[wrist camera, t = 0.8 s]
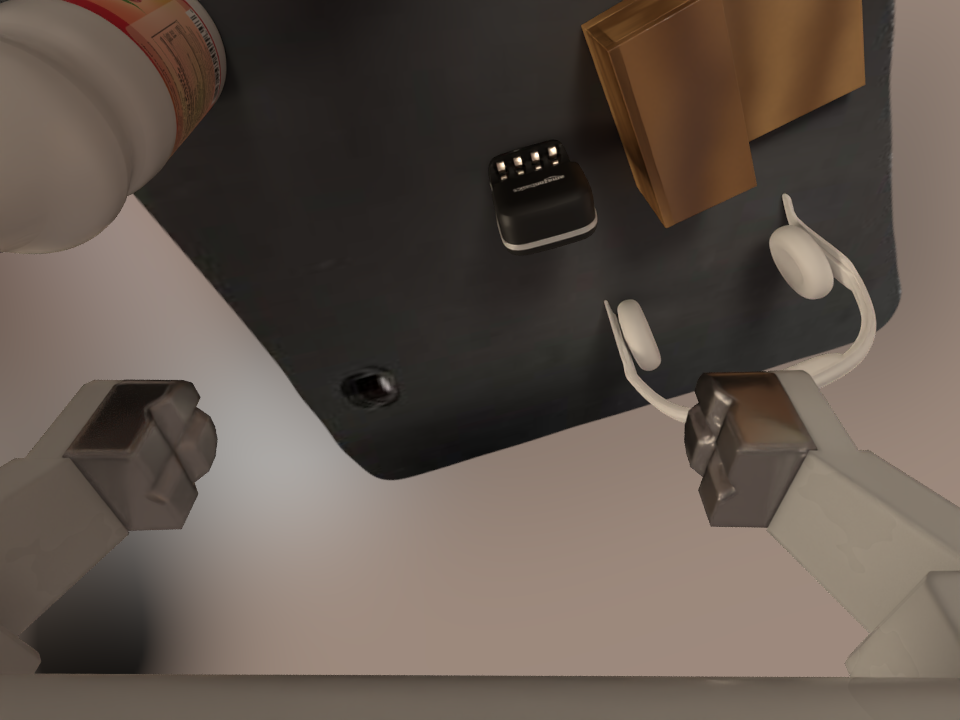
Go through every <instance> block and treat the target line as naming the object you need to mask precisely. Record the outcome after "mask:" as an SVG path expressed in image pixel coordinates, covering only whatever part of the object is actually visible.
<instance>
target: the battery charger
mask: <svg viewBox="0 0 960 720" xmlns="http://www.w3.org/2000/svg"><path fill="white" fill-rule="evenodd" d="M489 178H490V186H491V189H492V198H493V204H494V208H495V213H496V219H497V224H498V228H499V232H500V235H501V238H502V242H503V243H504V245H505V247H506V248H507V250H508V251H509V252H510V253H512V254H514V255H518V256H522V255H529V254H534V253H538V252H541V251H545V250H549V249H553V248H557V247H560V246H564V245H567V244H570V243H574V242H577V241H580V240H583V239H586V238H587V237H589V236H591V235H592V234H593V233H594V232H595V229H596V226H597V213H596V209H595V207H594V201H593V194H592V190H591V187H590V185H589V182H588V180H587V178H586V176H585V174H584V172H583V171H582V169H581V167H580V166H579V164H578V163H576V162H572V161H571V162H570V160H569V157H568V155H567V153H566V150H565V148H564V146H563V145H562V144H561V143H560V142H559V141H557V140H549V141H544V142H541V143H537V144H534V145H531V146H527V147H524V148H520V149H517V150H514V151H510V152H507V153H504V154H501V155H498V156H496V157H494V158H493V159H492V160H491V162H490V164H489Z"/></svg>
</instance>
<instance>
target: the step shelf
mask: <svg viewBox="0 0 960 720" xmlns="http://www.w3.org/2000/svg"><path fill="white" fill-rule="evenodd" d="M581 27H582V30H583V33H584V35H585V38H586V41H587V44H588V47H589V50H590V53H591V56H592V58H593V61H594V64H595V67H596V70H597V73H598V76H599V79H600V81H601V84H602V87H603V90H604V93H605V96H606V99H607V102H608V104H609V107H610V110H611V113H612V116H613V119H614V122H615V125H616V127H617V130H618V133H619V136H620V139H621V142H622V145H623V147H624V150H625V153H626V156H627V159H628V162H629V165H630V168H631V170H632V173H633V176H634V179H635V182H636V185H637V187H638V189H639V190H640V192H641V193H642V194H643V196H644V197H645V199H646V200H647V202H648V203H649V205H650V206H651V208H652V209H653V210H654V212H655V213H656V215H657V216H658V218H659V219H660V221H661V222H662V224H663V225H664V226H665V228H668V227H670V226H673V225H675V224H677V223H679V222H681V221H683V220H685V219H687V218H689V217H691V216H694V215H696V214H698V213H700V212H702V211H704V210H706V209H708V208H711V207H713V206H715V205H717V204H719V203H721V202H723V201H725V200H728V199H730V198H732V197H734V196H736V195H738V194H740V193H742V192H744V191H747V190H749V189H751V188H753V187H755V186H757V183H756V178H755V173H754V167H753V162H752V157H751V152H750V146H749V142H750V141H752V140H754V139H756V138H758V137H760V136H762V135H764V134H766V133H768V132H770V131H772V130H774V129H776V128H778V127H780V126H782V125H784V124H786V123H788V122H790V121H792V120H794V119H796V118H798V117H800V116H802V115H804V114H806V113H808V112H810V111H813V110H815V109H817V108H819V107H821V106H823V105H825V104H827V103H829V102H831V101H833V100H835V99H837V98H839V97H841V96H843V95H845V94H847V93H849V92H851V91H853V90H855V89H857V88H859V87H861V86H863V85H865V69H864V44H863V20H862V0H623V1H622V2H620V3H618V4H617V5H615V6H613V7H612V8H610V9H608V10H606V11H605V12H603V13H601V14H600V15H598V16H596V17H594V18H593V19H591V20H589V21H588V22H586V23H584V24H583V25H581Z"/></svg>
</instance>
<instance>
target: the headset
mask: <svg viewBox="0 0 960 720" xmlns="http://www.w3.org/2000/svg"><path fill="white" fill-rule="evenodd" d="M782 199H783V203H784V208H785V212H786V216H787V219H788V222H789V225H786V226H782V227H780V228H778V229H777V230H776V231H774V232H773V234H772V235H771V237H770V243H769V245H770V251H771V254H772V257H773V260H774V262H775V264H776V266H777V268H778V270H779V271H780V273H781V275H782V276H783V278H784V279H785V280H786V282H787V283H788V284H789V285H790V286H791V287H792V288H793V289H794V290H795V291H796V292H797V293H798V294H799V295H801V296H803V297H805V298H807V299H819V298H822V297H824V296H826V295H827V294H828V293H829V292H830V291H831V289H832V287H833V277H835V278H836V279H837V280H838V281H839V282H840V283H842V284H843V285H844V286H845V287H847V288H848V289H850V290H852V292H853V294H854V296H855V298H856V301H857V303H858V306H859V309H860V313H861V317H862V323H861V329H860V332H859V335H858V337H857V339H856V341H855V342H854V344H853V345H852V346H851V347H850V348H849V349H848V350H847V351H846V352H845V353H844V354H839V353H828V354H823V355H819V356H816V357H813V358H810V359H808V360H805V361H803V362H801V363H798V364H796V365H793V366H791V367H789V368H786V369H784V370H804V371H805V372H807V373H808V374H810V375H811V377H812V378H813V380H814V382H815V383H816V385H817V386H818V388H819V389H820V388H822V387H824V386H826V385H828V384H830V383H832V382H834V381H836V380H838V379H839V378H841V377H843V376H844V375H846V374H848V373H849V372H850V371H852V370H853V369H854V368H855V367H856V366H858V365H859V364H860V363H861V361H863V359H864V358H865V357H866V355H867V354H868V352H869V350H870V348H871V346H872V344H873V342H874V338H875V334H876V318H875V312H874V308H873V305H872V302H871V299H870V296H869V294H868V292H867V289H866V287H865V285H864V283H863V281H862V279H861V277H860V276H859V274H858V272H857V271H856V269H855V267H854V266H853V264H852V263H851V261H850V260H849V259H848V258H847V257H846V256H845V255H843V254H842V253H841V252H840V251H839V250H837V249H836V248H835V247H833V246H832V245H831V244H830V243H828V242H827V241H826V240H824V239H823V238H822V237H820V236H819V235H818V234H816V233H815V232H814V231H813V230H811V229H810V228H809V227H808V226H806V225H805V224H804V223H803V222H802V221H801V220H800V219H799V218H798V217H797V216H796V214H795V212H794V209H793V205H792V201H791V198H790V196H788V195H787V194H785V193H784V194H783V195H782ZM604 303H605V306H606V310H607V313H608V317H609V320H610V323H611V327H612V330H613V333H614V336H615V340H616V343H617V346H618V350H619V353H620V356H621V359H622V362H623V365H624V370H625V375H626V377H627V379H628V380H629V382H630V383H631V384H632V385H633V386H634V387H635V388H636V390H637V391H638V392H639V393H640V394H641V395H642V396H643V397H644V398H645V399H646V400H647V401H648V402H650V403H651V404H652V405H653V406H654V407H656V408H657V409H658V410H659V411H661V412H662V413H664V414H666V415H667V416H669V417H671V418H673V419H675V420H677V421H680V422H683V423H685V422H686V419H687V415H688V411H689V410H690V409H691V408H688V407H683V406H680V405H676V404H674V403H672V402H670V401H668V400H666V399H664V398H663V397H661V396H660V395H658V394H657V393H656V392H654V391H653V390H652V389H651V388H650V387H649V386H647V385H646V384H645V383H644V382H643V381H642V379H641V378H640V377H639V376H638V375H637V373H636V370H635V367H634V363H633V360H632V357H631V354H630V351H631V352H632V354H633V356H634V358H635V360H636V361H637V363H638V365H639V366H640V367H641V368H642V369H643V370H647V371H651V370H654V369H656V368H657V367H658V366H659V365H660V362H661V357H660V353H659V350H658V348H657V345H656V342H655V340H654V337H653V335H652V332H651V330H650V327H649V325H648V323H647V320H646V318H645V316H644V314H643V311H642V309H641V307H640V305H639V304H638V303H637V302H636V301H635V300H632V299H629V300H624V301H623V302H621V303H620V304H619V306H618V309H617V311H618V318H619V321H618V319H617V317H616V315H615V313H614V314H613V312H612V310H611V308H610V306H609V304H608V302H607V300H605V301H604ZM619 322H620V323H619ZM628 347H629V348H628ZM629 349H630V351H629Z"/></svg>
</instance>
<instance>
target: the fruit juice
mask: <svg viewBox="0 0 960 720" xmlns="http://www.w3.org/2000/svg"><path fill="white" fill-rule="evenodd" d="M225 78H226V55H225V50H224V46H223V42H222V39H221V37H220V34H219V32H218V30H217V27H216V26H215V24H214V22H213V20H212V19H211V17H210V16H209V14H208V13H207V11H206V10H205V9H204V7H203V6H202V5H201V4H200V3H199V2H198V0H10V1H7V2H4V3H1V4H0V253H3V252H9V253H21V254H46V253H53V252H59V251H63V250H67V249H71V248H74V247H76V246H79V245H81V244H83V243H85V242H87V241H89V240H91V239H92V238H94V237H95V236H97V235H98V234H99V233H101V232H102V231H103V230H104V229H105V228H106V227H107V226H108V225H109V224H110V223H111V222H112V221H113V220H114V219H115V218H116V217H117V215H118V214H119V212H120V211H121V209H122V207H123V205H124V203H125V201H126V198H127V196H129V195H131V194H133V193H134V192H136V191H137V190H139V189H140V188H141V187H143V186H144V185H145V184H146V183H148V182H149V181H150V180H151V179H152V178H153V177H154V176H155V175H156V174H157V173H158V172H159V171H160V170H161V169H162V168H163V166H164V165H165V164H166V162H167V161H168V160H169V158H170V157H171V156H172V155H173V153H174V152H175V151H176V150H177V149H178V147H179V146H180V145H181V144H182V143H183V142H184V140H185V139H186V138H187V137H188V136H189V134H190V133H191V132H192V131H193V130H194V128H195V127H196V126H197V125H198V124H199V122H200V121H201V120H202V119H203V118H204V116H205V115H206V114H207V113H208V111H209V110H210V109H211V108H212V107H213V105H214V104H215V103H216V101H217V100H218V98H219V96H220V94H221V92H222V89H223V86H224V83H225Z"/></svg>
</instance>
